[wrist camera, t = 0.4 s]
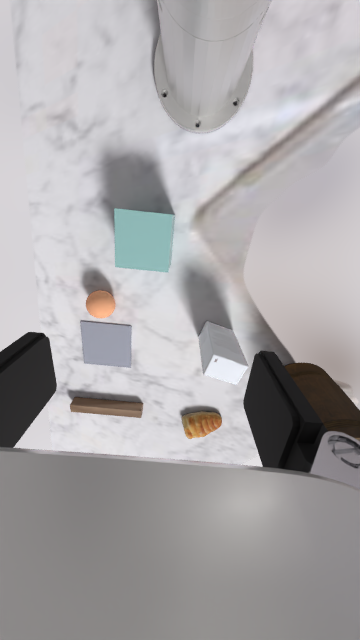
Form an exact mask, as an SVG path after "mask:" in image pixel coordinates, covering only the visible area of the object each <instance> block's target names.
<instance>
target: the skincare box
mask: <svg viewBox="0 0 360 640" xmlns="http://www.w3.org/2000/svg"><path fill="white" fill-rule="evenodd" d="M199 346H200V353H201V361H202V368H203V375H206V376H209V377H212V378H215V379H219V380H222V381H225V382H228V383H231V384H234V385H237V384H238V382H239V380H240V379H241V377H242V376H243V374H244V373H245V371H246V370H247V368H248V364H247V362H246V359H245V357H244V355H243V353H242V350H241V348H240V346H239V343H238V341H237V339H236V336H235V334H234V332H233V330H230V329H228V328H225V327H222V326H219V325H216V324H214V323H211V322H208V321H206V323H205V325H204V327H203V329H202V331H201V333H200V335H199Z"/></svg>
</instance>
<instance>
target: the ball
mask: <svg viewBox="0 0 360 640" xmlns="http://www.w3.org/2000/svg"><path fill="white" fill-rule="evenodd" d="M86 308H87V310H88V312H89V313H90V314H91V315H92V316H94V317H96V318H106V317H108V316H110V315H111V314H112V313H113V311H114V309H115V300H114V298H113V296H112V295H111V294H110V293H108V292H106V291H102V290H98V291H95V292H93V293H91V294H90V295H89V296H88V298H87V300H86Z"/></svg>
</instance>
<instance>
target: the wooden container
mask: <svg viewBox="0 0 360 640" xmlns="http://www.w3.org/2000/svg"><path fill="white" fill-rule="evenodd" d="M284 367H285V368H286V370H287V371H288V373H289V374H290V376H291V377H292V378H293V380H294V381H295V383H296V384H297V386H298V387H299V389H300V390H301V392H302V393H303V394H304V396H305V397H306V399H307V400H308V402H309V403H310V405H311V406H312V408H313V409H314V410H315V412H316V413H317V415H318V416H319V418H320V419H321V421H322V422H323V424H324V426H325V427H326V429H327V430H328V432H329V431H337V432H341V433H345V434H347V435H349V436H352V437H353V438H355V439H357V440H358V441H360V410H359V409H358V408H357V407H356V406H355V404H354V403H353V402H352V401H351V400H350V398H349V397H348V396H347V395H346V394H345V393H344V391H343V390H342V389H341V388H340V387H339V386H338V385H337V384H336V383H335V382H334V381H333V379H332V378H331V377H330V376H329V375H328V374H327V373H326V372H325V371H324V370H323V369H322V368H320V367H319V366H317V365H314V364H310V363H293V364H289V365H286V366H284Z"/></svg>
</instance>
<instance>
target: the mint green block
mask: <svg viewBox="0 0 360 640" xmlns="http://www.w3.org/2000/svg"><path fill="white" fill-rule="evenodd" d="M174 220H175V215H171V214H162V213H153V212H144V211H135V210H125V209H116V208H114V221H115V267H120V268H130V269H140V270H149V271H159V272H168V271H169V268H170V265H171V257H172V244H173V232H174Z"/></svg>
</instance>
